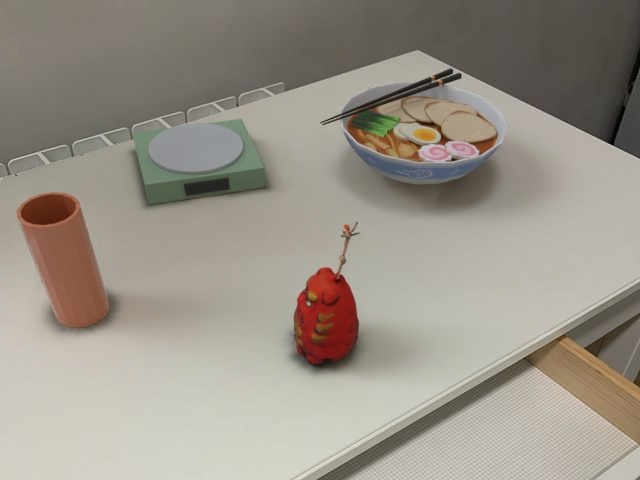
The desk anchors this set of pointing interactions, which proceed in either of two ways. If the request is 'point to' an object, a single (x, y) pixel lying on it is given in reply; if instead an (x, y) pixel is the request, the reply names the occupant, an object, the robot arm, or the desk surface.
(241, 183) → the scale
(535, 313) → the desk surface
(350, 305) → the red clay folk toy
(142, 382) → the desk surface
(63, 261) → the cup
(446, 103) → the ramen bowl
